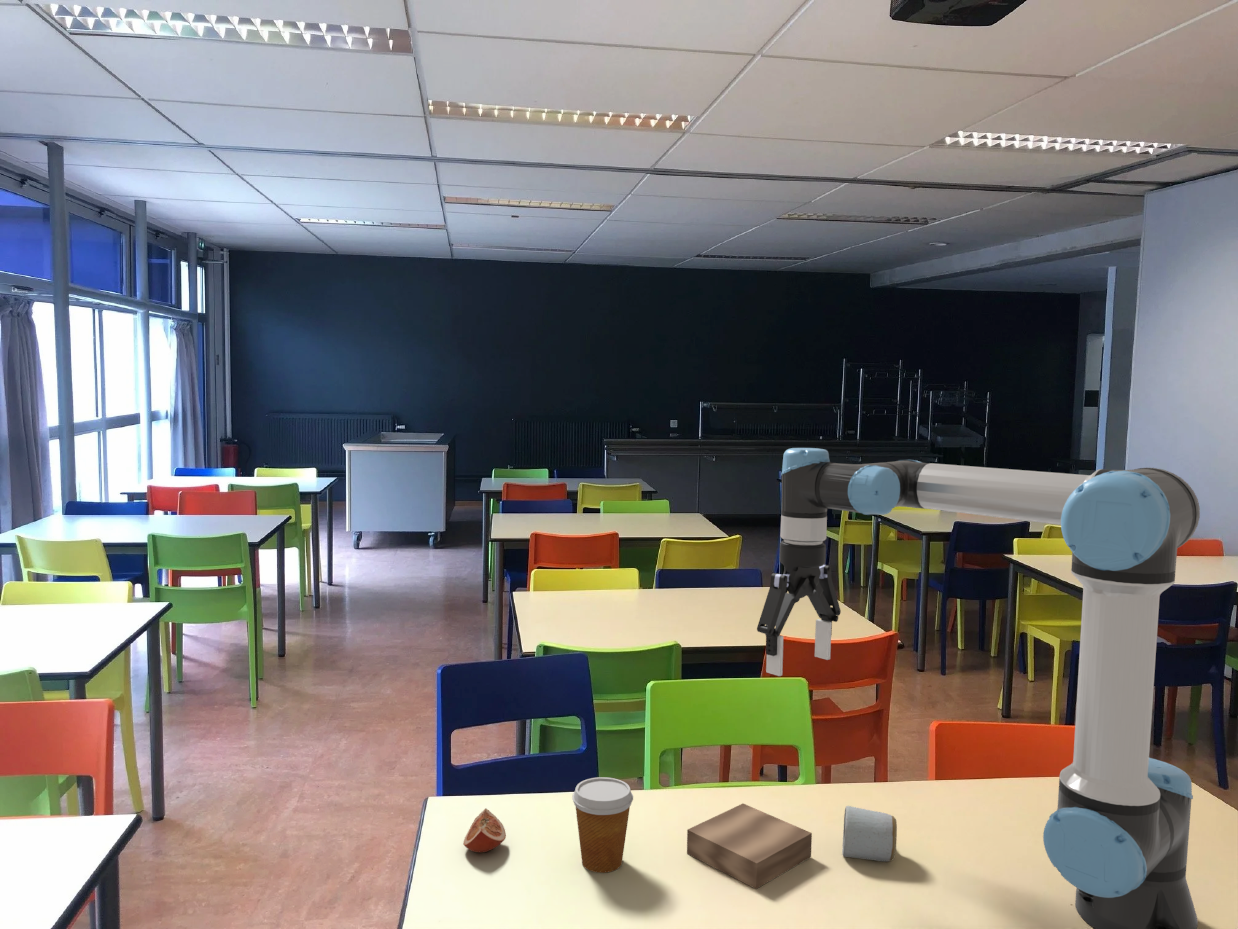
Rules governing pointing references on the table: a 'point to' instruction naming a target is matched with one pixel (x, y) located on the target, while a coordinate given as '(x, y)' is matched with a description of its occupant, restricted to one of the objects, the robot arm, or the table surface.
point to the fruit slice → (485, 833)
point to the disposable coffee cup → (602, 821)
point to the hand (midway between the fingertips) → (798, 665)
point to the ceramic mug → (869, 834)
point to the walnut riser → (749, 845)
